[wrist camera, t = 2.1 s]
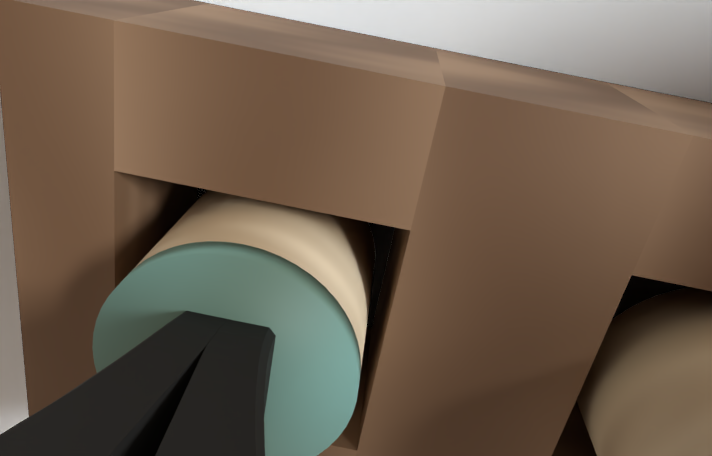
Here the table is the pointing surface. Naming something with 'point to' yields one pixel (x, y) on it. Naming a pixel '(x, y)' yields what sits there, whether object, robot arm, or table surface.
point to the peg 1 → (262, 304)
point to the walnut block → (354, 199)
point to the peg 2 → (653, 379)
